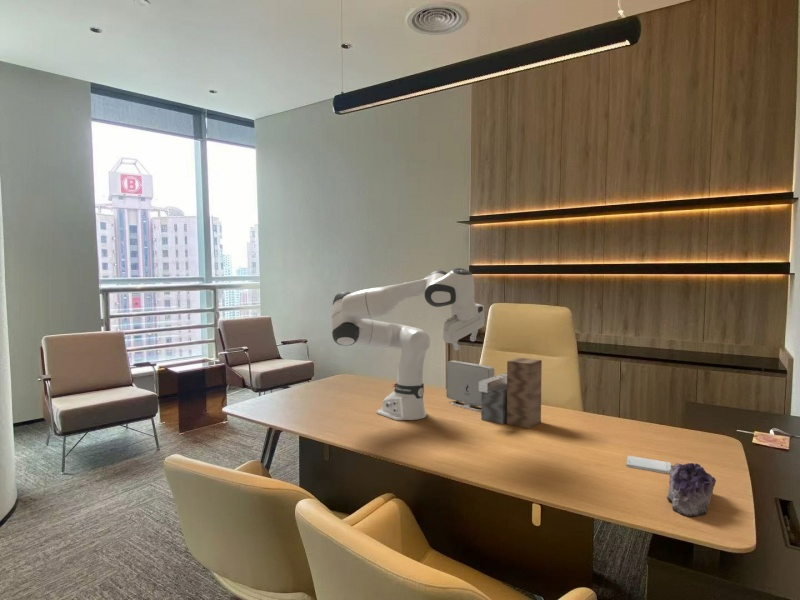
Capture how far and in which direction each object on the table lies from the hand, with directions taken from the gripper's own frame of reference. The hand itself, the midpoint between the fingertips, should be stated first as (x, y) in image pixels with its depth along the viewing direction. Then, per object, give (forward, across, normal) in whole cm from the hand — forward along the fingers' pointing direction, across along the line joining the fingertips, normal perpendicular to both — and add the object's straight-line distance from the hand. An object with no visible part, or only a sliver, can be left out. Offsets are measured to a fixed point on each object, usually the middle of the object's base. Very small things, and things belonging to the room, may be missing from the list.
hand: (465, 345), depth 180 cm
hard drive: (+29, +11, -64) cm, 72 cm away
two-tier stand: (+40, +18, -8) cm, 44 cm away
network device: (+46, +22, +18) cm, 54 cm away
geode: (+21, -5, -81) cm, 84 cm away
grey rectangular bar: (+27, +18, 0) cm, 32 cm away
